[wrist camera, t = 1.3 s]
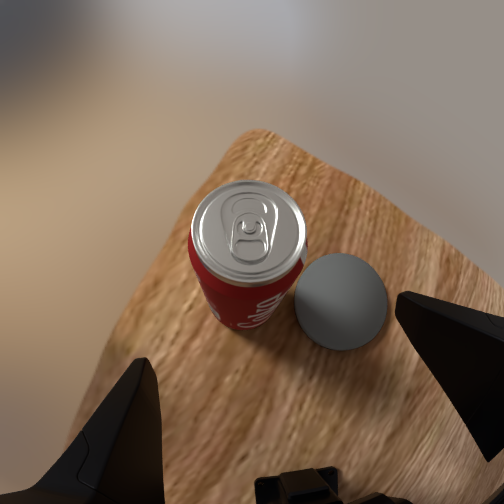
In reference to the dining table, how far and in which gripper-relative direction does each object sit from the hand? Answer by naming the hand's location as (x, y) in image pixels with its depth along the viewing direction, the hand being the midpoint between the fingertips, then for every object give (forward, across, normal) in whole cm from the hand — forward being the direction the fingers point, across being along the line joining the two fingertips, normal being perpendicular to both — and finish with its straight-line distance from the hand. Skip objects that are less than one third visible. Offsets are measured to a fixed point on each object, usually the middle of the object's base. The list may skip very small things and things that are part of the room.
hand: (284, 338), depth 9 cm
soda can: (+12, 0, +6) cm, 14 cm away
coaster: (+10, -8, +7) cm, 15 cm away
